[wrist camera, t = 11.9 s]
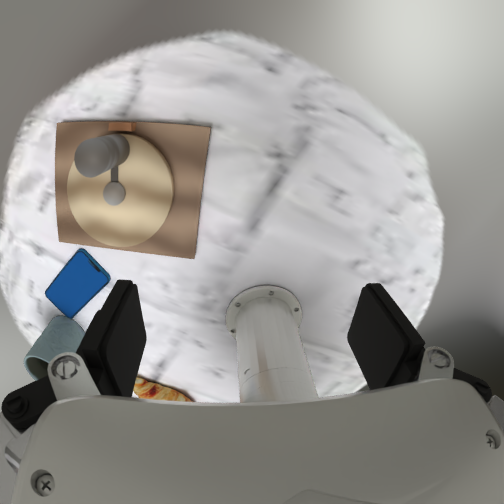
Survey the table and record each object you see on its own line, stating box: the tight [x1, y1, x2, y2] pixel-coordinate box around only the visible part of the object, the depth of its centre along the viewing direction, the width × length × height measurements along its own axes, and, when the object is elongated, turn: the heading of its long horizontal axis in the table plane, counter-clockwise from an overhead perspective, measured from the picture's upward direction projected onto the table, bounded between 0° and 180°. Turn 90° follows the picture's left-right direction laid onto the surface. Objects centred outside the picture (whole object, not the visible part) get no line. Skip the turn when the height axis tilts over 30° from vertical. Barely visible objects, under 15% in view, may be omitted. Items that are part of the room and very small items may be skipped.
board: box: [55, 121, 211, 259], centre depth 34 cm, size 18×22×4 cm
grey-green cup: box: [24, 316, 85, 381], centre depth 41 cm, size 10×10×12 cm
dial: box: [67, 133, 174, 247], centre depth 30 cm, size 15×15×9 cm
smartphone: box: [45, 249, 110, 319], centre depth 42 cm, size 7×1×15 cm
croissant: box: [133, 377, 193, 402], centre depth 54 cm, size 21×10×8 cm, turn 40°
